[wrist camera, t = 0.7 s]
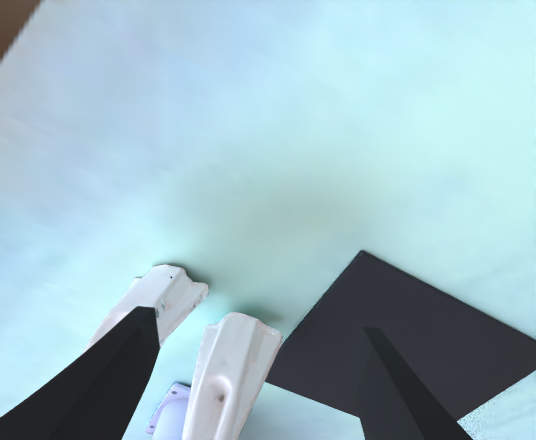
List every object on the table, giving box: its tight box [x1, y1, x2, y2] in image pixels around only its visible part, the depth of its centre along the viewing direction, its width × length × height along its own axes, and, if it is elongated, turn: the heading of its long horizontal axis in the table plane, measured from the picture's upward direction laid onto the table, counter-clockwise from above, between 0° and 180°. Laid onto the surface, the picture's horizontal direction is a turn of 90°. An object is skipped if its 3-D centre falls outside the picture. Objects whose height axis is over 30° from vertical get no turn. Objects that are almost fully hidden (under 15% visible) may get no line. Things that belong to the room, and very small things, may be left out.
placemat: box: [265, 250, 536, 421], centre depth 25 cm, size 16×20×1 cm
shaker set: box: [80, 264, 283, 440], centre depth 18 cm, size 12×4×11 cm, turn 57°
